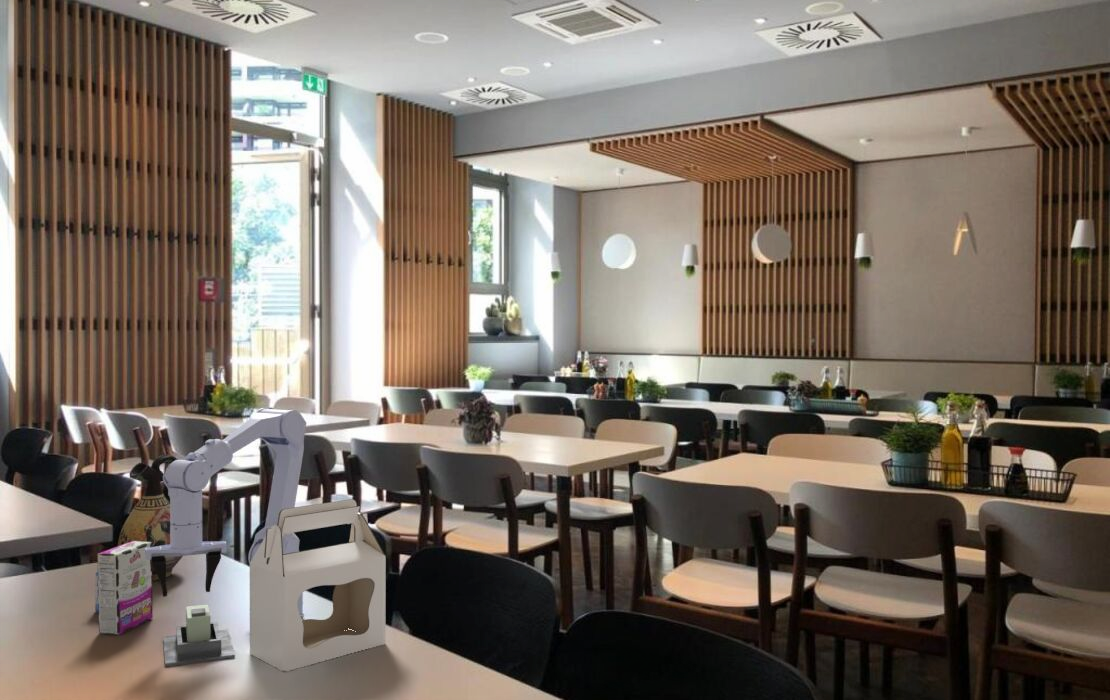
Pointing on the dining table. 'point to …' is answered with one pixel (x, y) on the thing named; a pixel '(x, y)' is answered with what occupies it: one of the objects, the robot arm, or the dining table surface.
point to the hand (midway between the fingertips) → (186, 592)
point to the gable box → (289, 575)
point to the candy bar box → (124, 587)
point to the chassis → (197, 647)
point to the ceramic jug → (151, 511)
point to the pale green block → (197, 623)
